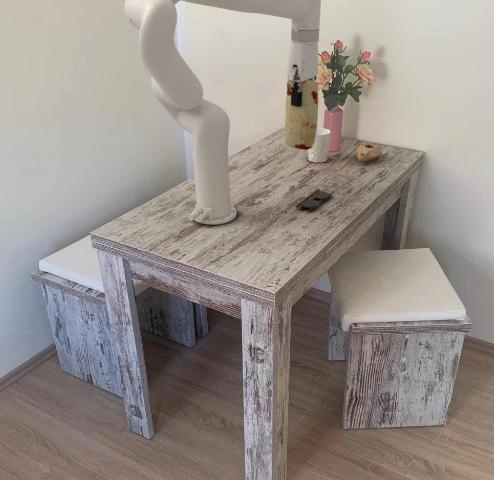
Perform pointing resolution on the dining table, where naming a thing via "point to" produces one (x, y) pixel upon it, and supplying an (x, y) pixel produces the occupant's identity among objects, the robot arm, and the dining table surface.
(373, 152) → the pottery oil lamp
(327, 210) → the dining table surface
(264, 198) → the dining table surface
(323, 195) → the sunglasses
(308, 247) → the dining table surface
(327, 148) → the white cup
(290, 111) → the food model
